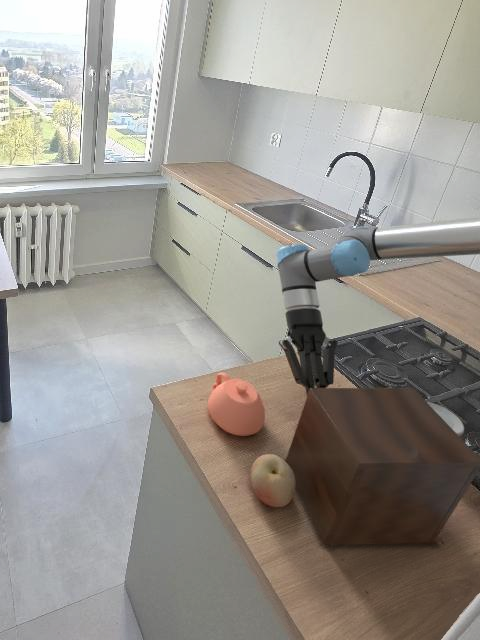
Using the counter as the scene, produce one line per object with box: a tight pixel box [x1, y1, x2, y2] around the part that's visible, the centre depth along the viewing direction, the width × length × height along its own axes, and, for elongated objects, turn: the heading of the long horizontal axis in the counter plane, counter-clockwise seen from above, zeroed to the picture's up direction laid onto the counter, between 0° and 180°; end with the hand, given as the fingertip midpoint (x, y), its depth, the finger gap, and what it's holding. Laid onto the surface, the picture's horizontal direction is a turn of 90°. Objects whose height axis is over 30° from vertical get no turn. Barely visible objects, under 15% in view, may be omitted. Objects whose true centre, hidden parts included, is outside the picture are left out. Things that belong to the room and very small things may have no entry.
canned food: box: [426, 401, 465, 439], centre depth 87 cm, size 8×8×11 cm
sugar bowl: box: [207, 371, 266, 437], centre depth 94 cm, size 12×14×10 cm
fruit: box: [249, 453, 297, 508], centre depth 78 cm, size 8×8×8 cm
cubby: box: [284, 387, 480, 546], centre depth 75 cm, size 20×15×21 cm
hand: (320, 419), depth 90 cm, fingers closed
